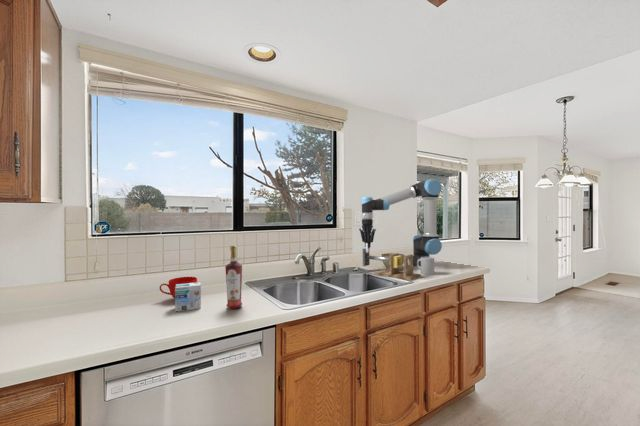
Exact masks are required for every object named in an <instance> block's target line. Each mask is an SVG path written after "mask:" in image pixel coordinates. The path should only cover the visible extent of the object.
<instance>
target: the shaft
mask: <svg viewBox="0 0 640 426" xmlns="http://www.w3.org/2000/svg"><path fill="white" fill-rule="evenodd" d="M370 260H373V261H374V260H375V261H381V262H383V261H389V258H388V257H382V256H378V255H370V252H368V253H367V252H366V247H364V248H362V267H367V266H370Z"/></svg>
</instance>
